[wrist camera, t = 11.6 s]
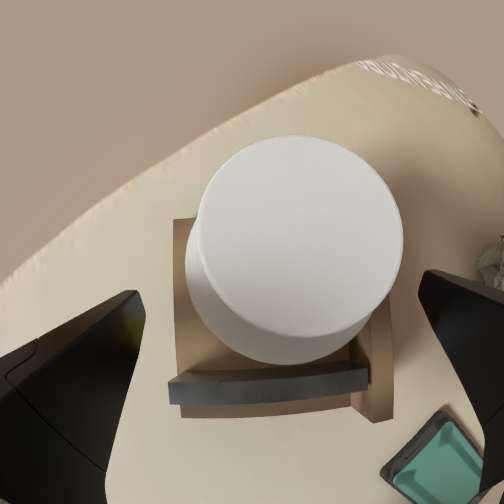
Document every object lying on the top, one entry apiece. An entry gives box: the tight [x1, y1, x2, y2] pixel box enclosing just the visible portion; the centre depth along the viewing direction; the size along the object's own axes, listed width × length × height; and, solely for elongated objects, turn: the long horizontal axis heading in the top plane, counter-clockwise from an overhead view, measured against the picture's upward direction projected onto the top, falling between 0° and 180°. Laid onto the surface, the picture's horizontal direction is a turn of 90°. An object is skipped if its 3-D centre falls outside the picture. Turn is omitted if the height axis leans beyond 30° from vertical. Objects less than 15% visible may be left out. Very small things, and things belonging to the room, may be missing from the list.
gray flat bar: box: [168, 360, 368, 405], centre depth 16 cm, size 1×10×4 cm, turn 93°
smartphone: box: [380, 411, 492, 504], centre depth 16 cm, size 7×1×15 cm
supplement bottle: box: [185, 135, 404, 365], centre depth 13 cm, size 7×7×13 cm
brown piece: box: [173, 218, 394, 423], centre depth 18 cm, size 13×12×6 cm
